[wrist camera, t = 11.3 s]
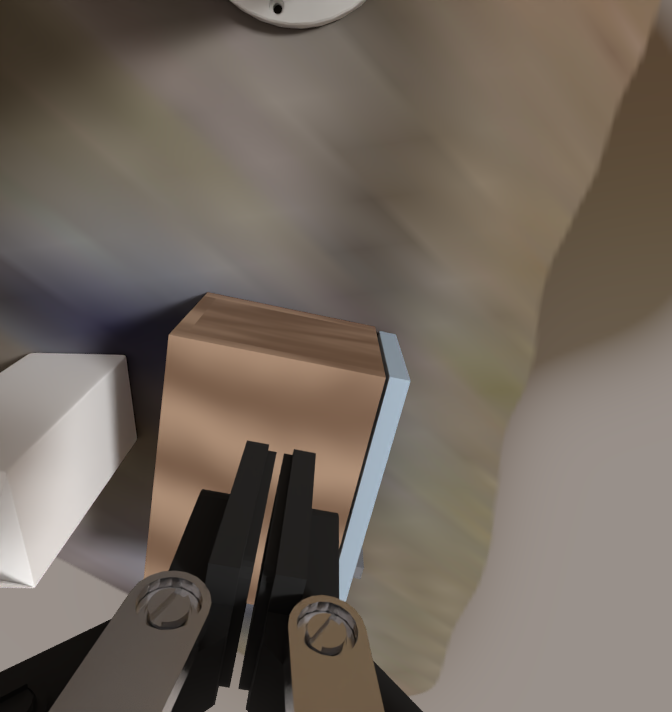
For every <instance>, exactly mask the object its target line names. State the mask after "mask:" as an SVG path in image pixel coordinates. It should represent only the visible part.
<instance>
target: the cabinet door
mask: <svg viewBox="0 0 672 712" xmlns="http://www.w3.org/2000/svg"><path fill="white" fill-rule="evenodd" d="M378 343H379V348H380V352H381V357H382V362H383V367H384V371H385V376H386V379H385V383H384V387H383V390H382V394H381V398H380V401H379V405H378V409H377V412H376V416H375V420H374V423H373V427H372V431H371V434H370V438H369V442H368V445H367V449H366V453H365V456H364V460H363V464H362V467H361V471H360V475H359V478H358V482H357V486H356V489H355V493H354V497H353V500H352V504H351V508H350V511H349V515H348V519H347V522H346V526H345V530H344V533H343V537H342V541H341V544H340V548H339V599H340V600H342V601H345V602H346V599H347V595H348V592H349V589H350V585H351V582H352V578H358V579H361V575H362V572H363V569H364V566H363V550H362V544H363V541H364V537H365V534H366V531H367V527H368V524H369V520H370V517H371V514H372V510H373V507H374V503H375V500H376V497H377V493H378V490H379V486H380V483H381V480H382V476H383V473H384V469H385V466H386V462H387V459H388V456H389V452H390V449H391V445H392V442H393V439H394V435H395V432H396V428H397V425H398V422H399V418H400V415H401V411H402V408H403V405H404V401H405V398H406V394H407V391H408V388H409V384H410V378H409V375H408V372H407V368H406V365H405V362H404V359H403V356H402V353H401V349H400V346H399V343H398V340H397V337H396V334H391V333H386V332H381V331H379V334H378Z"/></svg>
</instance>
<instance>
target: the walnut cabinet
mask: <svg viewBox="0 0 672 712" xmlns="http://www.w3.org/2000/svg"><path fill="white" fill-rule="evenodd" d="M385 379H386V376H385V371H384V367H383V362H382V357H381V352H380V348H379V343H378V338H377V333H376V329H375V327H374V326H369V325H364V324H359V323H355V322H350V321H345V320H340V319H335V318H330V317H325V316H321V315H316V314H311V313H306V312H301V311H296V310H292V309H287V308H282V307H277V306H272V305H267V304H262V303H258V302H253V301H248V300H243V299H238V298H233V297H228V296H224V295H219V294H214V293H209V292H207V294H206V295H205V296H204V297H203V298H202V299H201V300H200V301H199V302H198V303H197V304H196V306H195V307H194V308H193V309H192V310H191V311H190V312H189V313H188V314H187V315H186V316H185V318H184V319H183V320H182V321H181V322H180V323H179V324H178V325H177V326H176V327H175V328H174V329H173V331H172V332H171V333H170V334H169V337H168V347H167V357H166V367H165V377H164V386H163V396H162V406H161V416H160V426H159V435H158V445H157V455H156V465H155V474H154V484H153V494H152V504H151V514H150V523H149V533H148V543H147V553H146V562H145V572H144V579H145V578H146V577H148V576H150V575H153V574H156V573H159V572H163V571H168V570H169V568H170V566H171V563H172V561H173V558H174V556H175V553H176V551H177V548H178V546H179V543H180V541H181V538H182V536H183V533H184V531H185V528H186V526H187V523H188V521H189V518H190V516H191V513H192V511H193V508H194V506H195V504H196V501H197V499H198V496H199V494H200V492H201V490H202V489H205V490H211V491H217V492H222V493H228V494H230V493H231V490H232V486H233V483H234V480H235V477H236V474H237V470H238V467H239V464H240V461H241V458H242V455H243V451H244V448H245V445H246V442H247V440H248V441H254V442H259V443H264V444H269V449H268V450H269V451H274V452H277V454H276V459H275V464H274V469H273V474H272V479H271V484H270V489H269V494H268V499H267V504H266V509H265V514H264V519H263V524H262V529H261V534H260V539H259V544H258V549H257V554H256V559H255V564H254V569H253V573H252V578H251V583H250V588H249V593H248V598H247V604H254V602H255V596H256V591H257V585H258V580H259V575H260V569H261V564H262V558H263V553H264V548H265V543H266V538H267V533H268V528H269V523H270V519H271V514H272V509H273V504H274V499H275V494H276V489H277V485H278V480H279V475H280V470H281V465H282V460H283V456H284V453H285V454H290V455H292V454H293V450H294V449H297V450H302V451H307V452H313V453H316V460H315V474H314V487H313V501H312V509H318V510H323V511H329V512H335V513H338V514H339V548H340V544H341V541H342V537H343V533H344V530H345V526H346V522H347V519H348V515H349V511H350V508H351V504H352V500H353V497H354V493H355V489H356V486H357V482H358V478H359V475H360V471H361V467H362V464H363V460H364V456H365V453H366V449H367V445H368V442H369V438H370V434H371V431H372V427H373V423H374V420H375V416H376V412H377V409H378V405H379V401H380V398H381V394H382V390H383V387H384V383H385Z"/></svg>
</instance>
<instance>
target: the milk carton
mask: <svg viewBox="0 0 672 712" xmlns="http://www.w3.org/2000/svg"><path fill="white" fill-rule="evenodd" d="M136 440H137V434H136V427H135V419H134V412H133V404H132V397H131V390H130V382H129V375H128V368H127V360H126V356H125V355H108V354H61V353H30V354H28V355H26V356H25V357H23V358H22V359H20V360H19V361H17V362H16V363H14V364H13V365H11V366H10V367H8V368H7V369H5V370H3V371H2V372H0V588H35V586H36V585H37V583H38V582H39V581H40V579H41V578H42V576H43V575H44V573H45V572H46V570H47V569H48V568H49V566H50V565H51V563H52V562H53V560H54V559H55V558H56V556H57V555H58V553H59V552H60V550H61V549H62V547H63V546H64V545H65V543H66V542H67V540H68V539H69V537H70V536H71V534H72V533H73V532H74V530H75V529H76V527H77V526H78V524H79V523H80V521H81V520H82V519H83V517H84V516H85V514H86V513H87V511H88V510H89V508H90V507H91V506H92V504H93V503H94V501H95V500H96V498H97V497H98V495H99V494H100V493H101V491H102V490H103V488H104V487H105V485H106V484H107V482H108V481H109V480H110V478H111V477H112V475H113V474H114V472H115V471H116V469H117V468H118V467H119V465H120V464H121V462H122V461H123V459H124V458H125V456H126V455H127V454H128V452H129V451H130V449H131V448H132V446H133V445H134V443H135V442H136Z"/></svg>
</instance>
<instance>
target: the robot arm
mask: <svg viewBox="0 0 672 712" xmlns="http://www.w3.org/2000/svg"><path fill="white" fill-rule="evenodd" d="M230 1H231V2H232V3H233V4H234V5H236V6H237V7H238V8H239V9H240V10H242V11H243V12H245V13H247V14H249V15H251V16H253V17H254V18H256V19H258V20H260V21H263V22H266V23H269V24H272V25H276V26H279V27H286V28H299V29H303V28H310V27H317V26H323V25H325V24H328V23H331V22H333V21H336V20H339V19H341V18H343V17H345V16H346V15H348V14H349V13H351V12H352V11H354V10H355V9H357V8H359V7H360V6H361V5H362V4H363V3H364V2H365V1H366V0H230ZM276 5H280V6H281V7H282V12H281V13H280V14H276V13H274V7H275V6H276ZM268 449H269V444H264V443H259V442H254V441H248V440H247V442H246V445H245V448H244V451H243V455H242V458H241V461H240V464H239V467H238V470H237V474H236V477H235V480H234V483H233V486H232V490H231V493H230V494H228V493H222V492H217V491H211V490H205V489H202V490H201V492H200V494H199V496H198V499H197V501H196V504H195V506H194V508H193V511H192V513H191V516H190V518H189V521H188V523H187V526H186V528H185V531H184V533H183V536H182V538H181V541H180V543H179V546H178V548H177V551H176V553H175V556H174V558H173V561H172V563H171V566H170V568H169V570H168V571H163V572H159V573H156V574H153V575H150V576H148V577H146V578H145V579H143V580H142V581H140V582H139V583H138V584H137V585H136V586H135V587H134V588H133V589H132V590H131V591H130V593H129V594H128V596H127V597H126V599H125V600H124V602H123V603H122V605H121V606H120V608H119V609H118V611H117V612H116V614H115V615H114V616H113V618H112V619H110V620H108V621H106V622H104V623H102V624H100V625H98V626H96V627H94V628H92V629H89V630H88V631H85V632H83V633H81V634H79V635H77V636H75V637H73V638H71V639H69V640H67V641H65V642H63V643H60V644H58V645H56V646H54V647H52V648H50V649H48V650H46V651H44V652H42V653H39V654H37V655H36V656H33V657H31V658H29V659H27V660H25V661H23V662H21V663H19V664H16V665H15V666H12V667H10V668H8V669H6V670H4V671H2V672H0V712H205V711H206V710H208V709H209V708H211V707H212V706H213V705H215V700H216V696H217V692H218V687H219V686H223V687H230V682H231V678H232V673H233V667H234V663H235V658H236V653H237V648H238V643H239V638H240V633H241V628H242V623H243V618H244V613H245V608H246V603H247V598H248V593H249V588H250V583H251V578H252V573H253V569H254V564H255V559H256V554H257V549H258V544H259V539H260V534H261V529H262V524H263V519H264V514H265V509H266V504H267V499H268V494H269V489H270V484H271V479H272V474H273V469H274V464H275V459H276V454H277V452H274V451H269V450H268ZM315 460H316V453H313V452H307V451H302V450H297V449H294V450H293V454H292V455H290V454H285V453H284V456H283V460H282V465H281V470H280V475H279V480H278V485H277V489H276V494H275V499H274V504H273V509H272V514H271V519H270V523H269V528H268V533H267V538H266V543H265V548H264V553H263V558H262V564H261V569H260V575H259V580H258V585H257V591H256V596H255V602H254V607H253V612H252V618H251V623H250V629H249V634H248V639H247V645H246V650H245V656H244V661H243V667H242V672H241V677H240V683H239V689H243V690H249V694H248V699H247V705H246V710H247V711H248V712H423V711H421V709H420V708H419V707H418V706H417V705H416V704H415V703H414V702H412V700H411V699H410V698H409V697H408V696H407V695H406V694H405V693H404V692H403V691H402V690H401V689H400V688H399V687H398V686H397V685H396V684H395V683H394V682H393V681H392V680H391V679H390V678H389V676H388V675H387V674H386V673H385V672H384V671H383V670H382V669H381V668H380V667H379V666H378V665H377V664H376V663H375V662H374V661H373V658H372V653H371V649H370V644H369V640H368V635H367V631H366V627H365V625H364V622H363V620H362V618H361V616H360V615H359V614H358V613H357V611H356V610H355V609H354V608H353V607H351V606H350V605H349V604H347V603H346V602H345V601H342V600H340V599H339V514H338V513H335V512H329V511H323V510H318V509H312V501H313V487H314V474H315Z"/></svg>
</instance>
